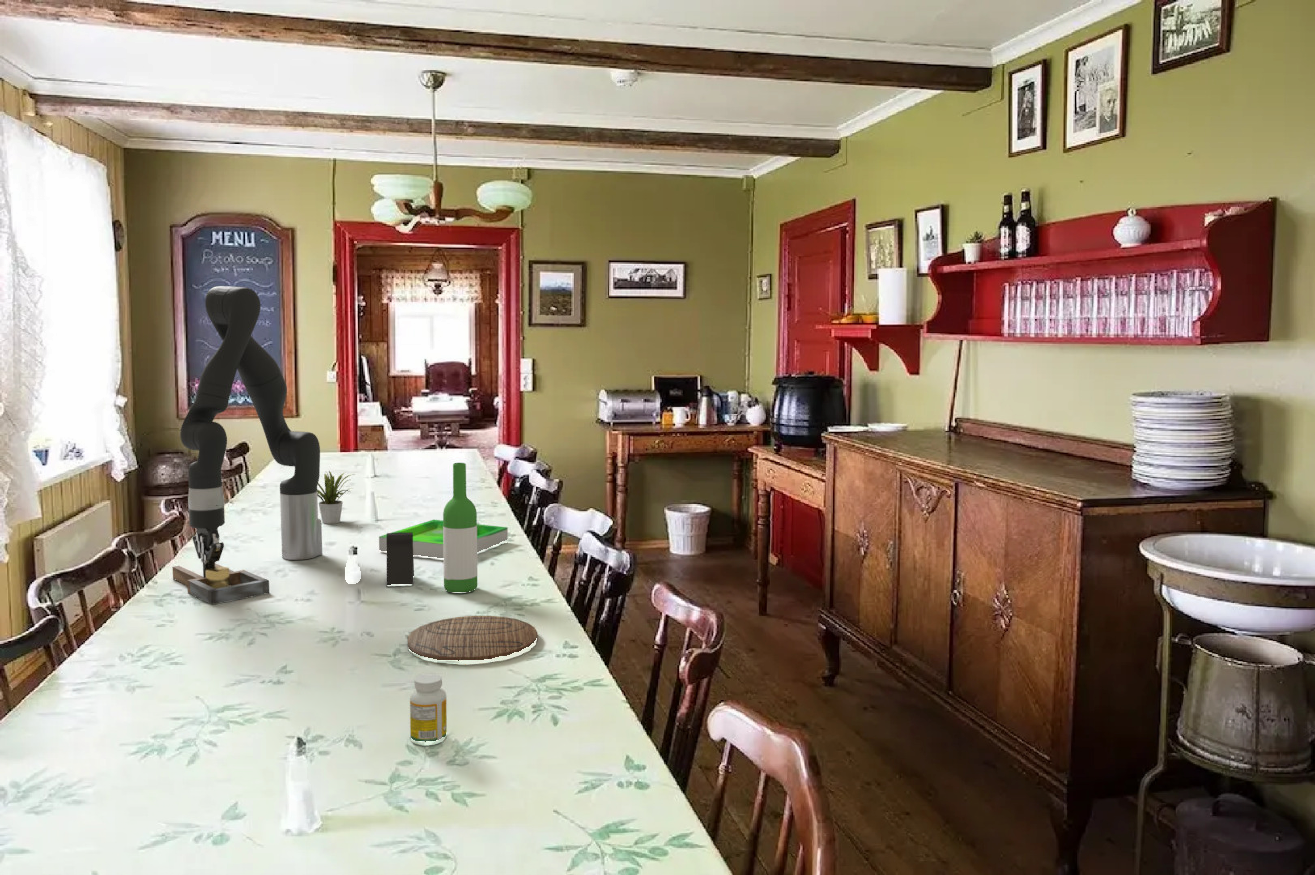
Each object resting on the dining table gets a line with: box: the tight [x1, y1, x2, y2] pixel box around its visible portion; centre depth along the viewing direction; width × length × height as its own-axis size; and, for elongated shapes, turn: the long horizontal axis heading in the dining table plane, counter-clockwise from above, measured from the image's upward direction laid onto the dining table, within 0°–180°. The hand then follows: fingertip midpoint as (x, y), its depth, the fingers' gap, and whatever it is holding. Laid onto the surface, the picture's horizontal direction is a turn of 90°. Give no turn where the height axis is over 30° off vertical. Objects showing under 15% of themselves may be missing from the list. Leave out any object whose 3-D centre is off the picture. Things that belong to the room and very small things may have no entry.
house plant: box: [317, 470, 356, 525], centre depth 295 cm, size 14×14×16 cm
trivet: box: [407, 615, 538, 661], centre depth 188 cm, size 25×25×2 cm
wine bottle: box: [442, 462, 478, 593], centre depth 222 cm, size 8×8×30 cm
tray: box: [378, 519, 509, 558], centre depth 265 cm, size 25×25×5 cm
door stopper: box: [386, 532, 415, 586], centre depth 230 cm, size 9×6×12 cm, turn 11°
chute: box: [171, 562, 270, 606], centre depth 224 cm, size 13×28×3 cm, turn 47°
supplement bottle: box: [409, 673, 448, 742], centre depth 144 cm, size 5×5×10 cm
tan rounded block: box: [206, 566, 230, 589], centre depth 222 cm, size 5×5×4 cm
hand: (209, 578), depth 226 cm, fingers closed
